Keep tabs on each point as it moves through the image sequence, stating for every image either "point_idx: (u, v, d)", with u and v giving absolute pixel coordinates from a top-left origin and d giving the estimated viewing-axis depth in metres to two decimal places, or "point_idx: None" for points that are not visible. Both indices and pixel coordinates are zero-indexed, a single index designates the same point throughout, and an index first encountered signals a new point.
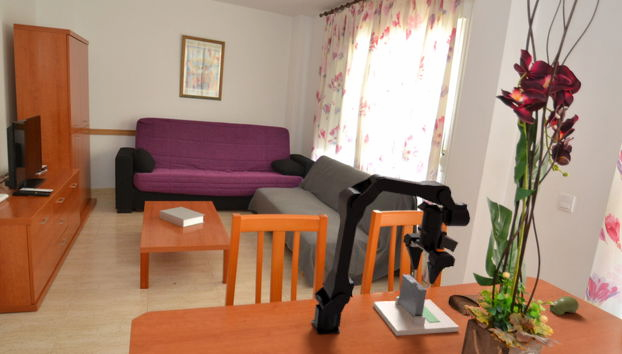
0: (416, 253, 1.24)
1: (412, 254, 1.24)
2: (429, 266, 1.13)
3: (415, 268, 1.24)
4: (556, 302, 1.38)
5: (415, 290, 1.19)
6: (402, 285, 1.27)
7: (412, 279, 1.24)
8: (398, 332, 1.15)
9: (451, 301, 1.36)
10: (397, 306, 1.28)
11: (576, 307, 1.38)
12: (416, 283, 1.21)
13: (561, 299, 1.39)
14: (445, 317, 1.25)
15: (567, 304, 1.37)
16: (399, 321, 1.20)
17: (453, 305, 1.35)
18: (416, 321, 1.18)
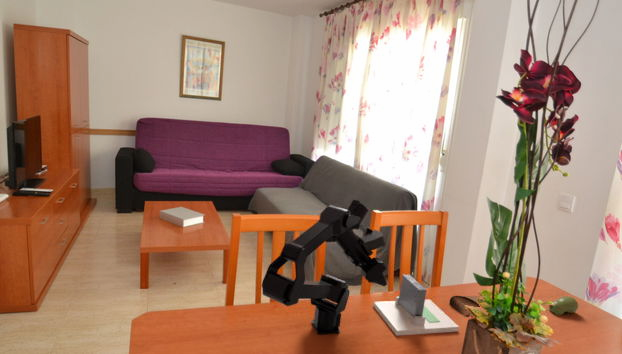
0: None
1: (360, 264, 1.21)
2: None
3: None
4: (555, 302, 1.38)
5: (415, 290, 1.19)
6: (402, 285, 1.27)
7: (412, 279, 1.24)
8: (398, 332, 1.15)
9: (452, 302, 1.35)
10: (397, 306, 1.28)
11: (575, 307, 1.37)
12: (416, 283, 1.21)
13: (560, 299, 1.39)
14: (445, 317, 1.25)
15: (567, 304, 1.37)
16: (399, 321, 1.20)
17: (454, 306, 1.34)
18: (416, 321, 1.18)
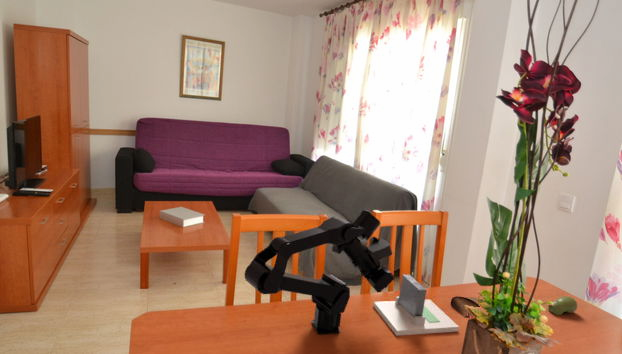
0: None
1: None
2: None
3: None
4: (555, 302, 1.38)
5: (415, 290, 1.19)
6: (402, 285, 1.27)
7: (412, 279, 1.24)
8: (398, 332, 1.15)
9: (453, 303, 1.35)
10: (397, 306, 1.28)
11: (575, 307, 1.37)
12: (416, 283, 1.21)
13: (560, 299, 1.39)
14: (445, 317, 1.25)
15: (566, 304, 1.37)
16: (399, 321, 1.20)
17: (455, 307, 1.34)
18: (416, 321, 1.18)
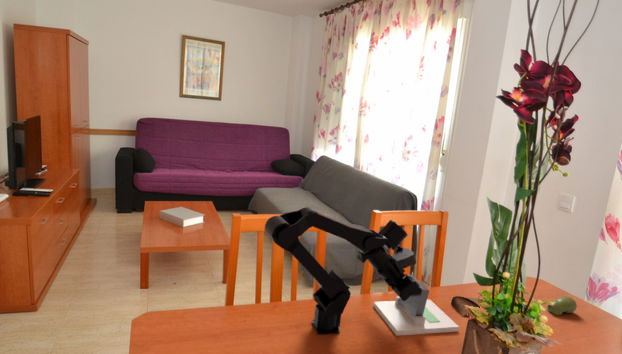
0: None
1: None
2: None
3: None
4: (554, 302, 1.38)
5: (418, 290, 1.19)
6: None
7: (415, 279, 1.24)
8: (398, 332, 1.15)
9: (453, 302, 1.35)
10: (397, 306, 1.28)
11: (574, 307, 1.37)
12: (419, 283, 1.22)
13: (559, 299, 1.39)
14: (445, 317, 1.25)
15: (565, 304, 1.37)
16: (399, 321, 1.20)
17: (455, 306, 1.34)
18: (416, 321, 1.18)
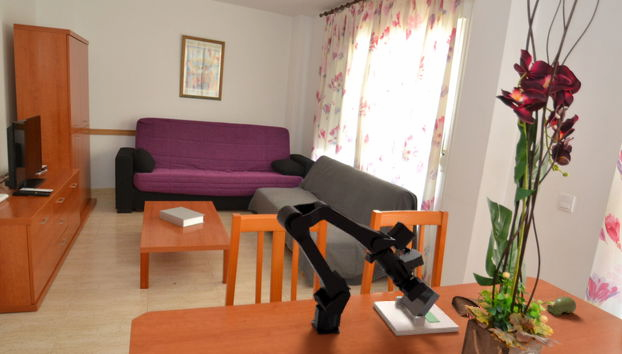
0: None
1: None
2: None
3: None
4: (553, 302, 1.38)
5: (429, 292, 1.21)
6: None
7: None
8: (398, 332, 1.15)
9: (454, 302, 1.35)
10: (397, 306, 1.28)
11: (573, 307, 1.37)
12: (430, 287, 1.23)
13: (558, 299, 1.39)
14: (445, 317, 1.25)
15: (565, 304, 1.37)
16: (399, 321, 1.20)
17: (455, 306, 1.34)
18: (416, 321, 1.18)
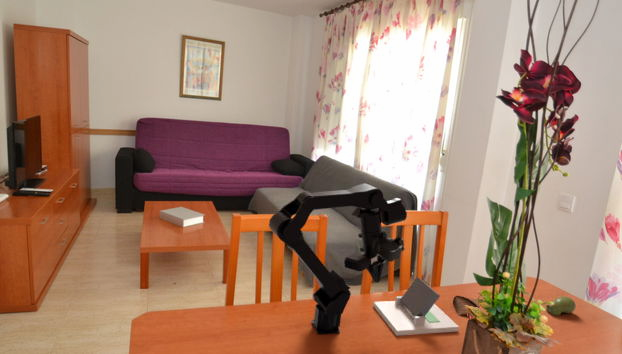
0: None
1: None
2: None
3: None
4: (553, 302, 1.38)
5: (429, 292, 1.21)
6: (412, 286, 1.28)
7: None
8: (398, 332, 1.15)
9: (454, 302, 1.36)
10: (397, 306, 1.28)
11: (573, 307, 1.37)
12: (430, 287, 1.23)
13: (558, 299, 1.39)
14: (445, 317, 1.25)
15: (564, 304, 1.37)
16: (399, 321, 1.20)
17: (455, 305, 1.35)
18: (416, 321, 1.18)
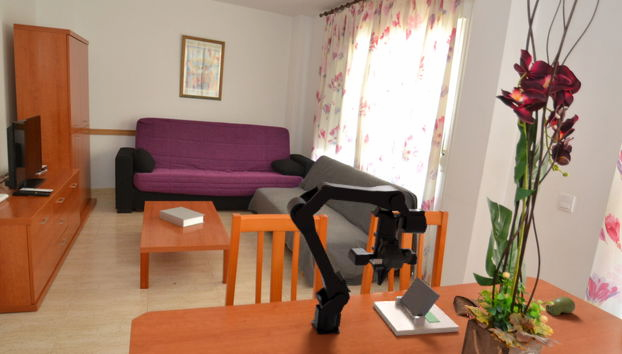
0: None
1: None
2: None
3: None
4: None
5: (429, 292, 1.21)
6: (412, 286, 1.28)
7: None
8: (398, 332, 1.15)
9: (454, 301, 1.36)
10: (397, 306, 1.28)
11: (572, 307, 1.37)
12: (430, 287, 1.23)
13: (557, 299, 1.39)
14: (445, 317, 1.25)
15: (563, 304, 1.37)
16: (399, 321, 1.20)
17: (455, 305, 1.35)
18: (416, 321, 1.18)
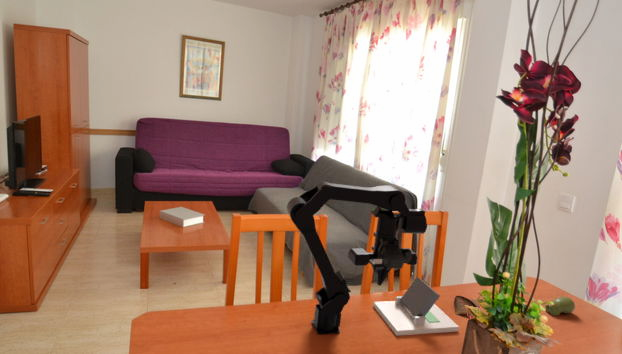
0: None
1: None
2: None
3: None
4: None
5: (429, 292, 1.21)
6: (412, 286, 1.28)
7: None
8: (398, 332, 1.15)
9: (455, 301, 1.36)
10: (397, 306, 1.28)
11: (572, 307, 1.37)
12: (430, 287, 1.23)
13: (557, 299, 1.39)
14: (445, 317, 1.25)
15: (563, 304, 1.37)
16: (399, 321, 1.20)
17: (455, 305, 1.35)
18: (416, 321, 1.18)
